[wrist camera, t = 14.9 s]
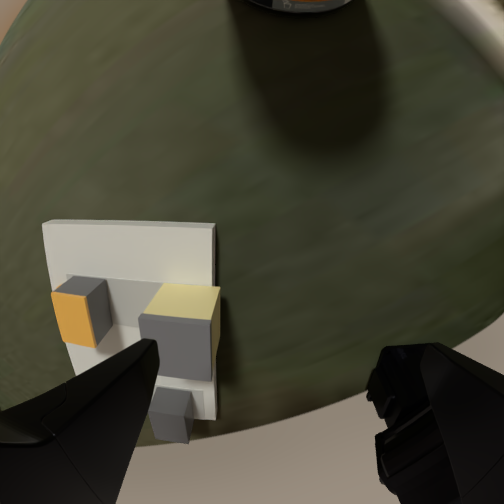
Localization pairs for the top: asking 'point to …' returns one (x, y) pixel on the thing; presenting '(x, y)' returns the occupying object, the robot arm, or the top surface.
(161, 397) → the plain toggle
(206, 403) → the panel
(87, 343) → the tagged toggle
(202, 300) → the block
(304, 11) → the supplement container
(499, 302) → the top surface
